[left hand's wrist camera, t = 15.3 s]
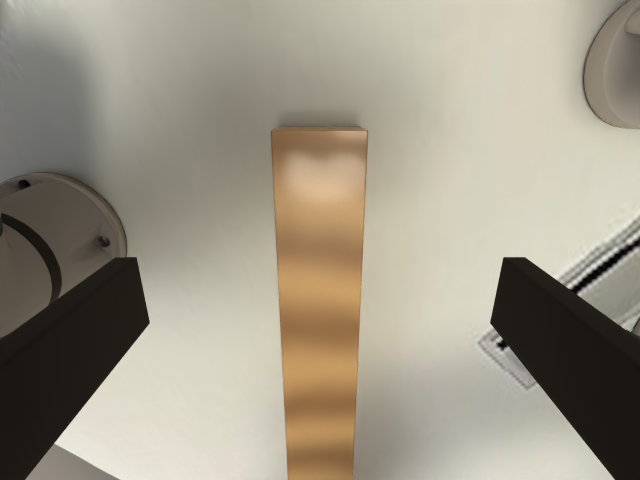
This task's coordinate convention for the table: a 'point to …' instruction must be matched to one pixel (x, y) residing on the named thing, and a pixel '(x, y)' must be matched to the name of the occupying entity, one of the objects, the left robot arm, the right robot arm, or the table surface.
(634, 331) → the right robot arm
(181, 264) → the table surface
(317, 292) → the wide beam
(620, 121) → the bust sculpture
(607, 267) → the table surface
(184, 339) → the table surface
